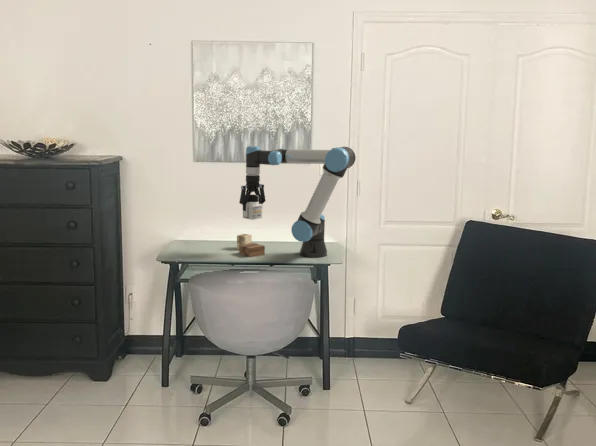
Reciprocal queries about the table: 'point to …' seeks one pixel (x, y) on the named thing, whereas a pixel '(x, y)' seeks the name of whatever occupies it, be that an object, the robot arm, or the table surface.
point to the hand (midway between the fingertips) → (252, 215)
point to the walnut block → (251, 249)
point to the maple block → (243, 239)
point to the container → (253, 208)
